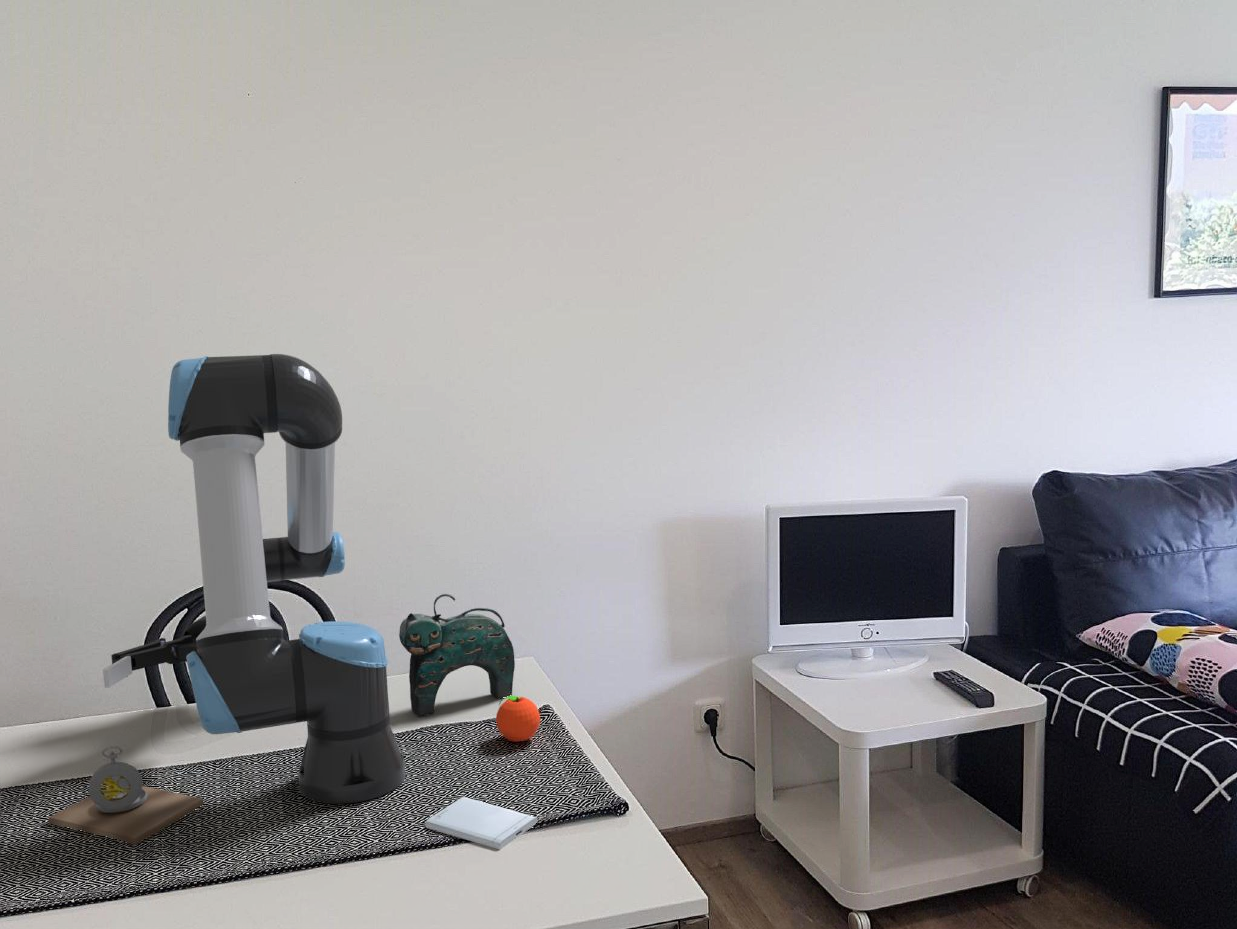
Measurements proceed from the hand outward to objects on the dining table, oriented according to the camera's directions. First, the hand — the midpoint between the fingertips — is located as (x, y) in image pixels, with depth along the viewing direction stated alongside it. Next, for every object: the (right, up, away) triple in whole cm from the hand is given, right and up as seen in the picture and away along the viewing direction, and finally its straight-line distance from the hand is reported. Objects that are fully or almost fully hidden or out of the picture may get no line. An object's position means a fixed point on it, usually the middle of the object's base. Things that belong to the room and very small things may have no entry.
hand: (151, 678), depth 162 cm
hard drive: (+50, -18, -13) cm, 54 cm away
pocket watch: (-1, -17, -8) cm, 18 cm away
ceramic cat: (+41, -10, +30) cm, 52 cm away
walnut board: (0, -17, -8) cm, 19 cm away
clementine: (+52, -13, +15) cm, 55 cm away
